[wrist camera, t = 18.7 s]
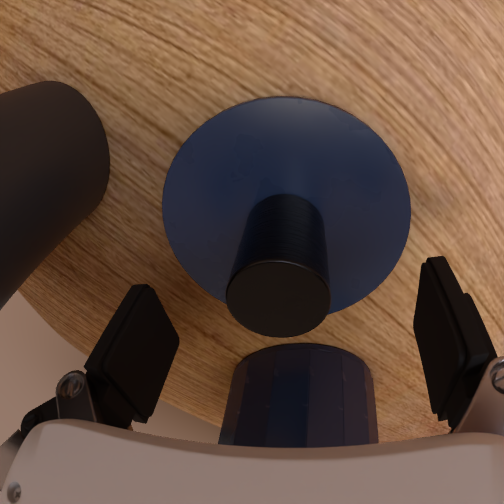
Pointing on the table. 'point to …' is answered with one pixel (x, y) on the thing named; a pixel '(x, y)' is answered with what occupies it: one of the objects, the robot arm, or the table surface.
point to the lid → (286, 211)
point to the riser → (45, 174)
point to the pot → (300, 399)
